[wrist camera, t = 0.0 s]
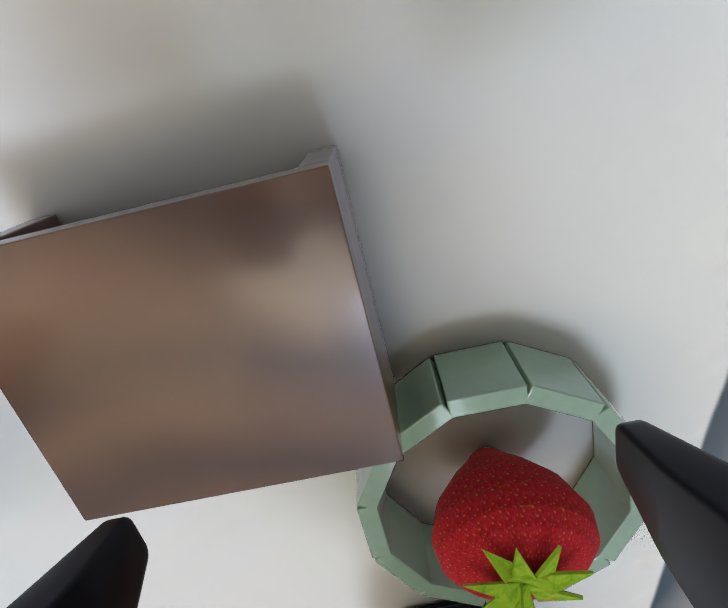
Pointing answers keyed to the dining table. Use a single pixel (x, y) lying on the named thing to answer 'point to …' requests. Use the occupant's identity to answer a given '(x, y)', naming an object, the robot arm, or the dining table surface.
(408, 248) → the dining table surface
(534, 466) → the strawberry
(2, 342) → the shelf
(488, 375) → the holder
